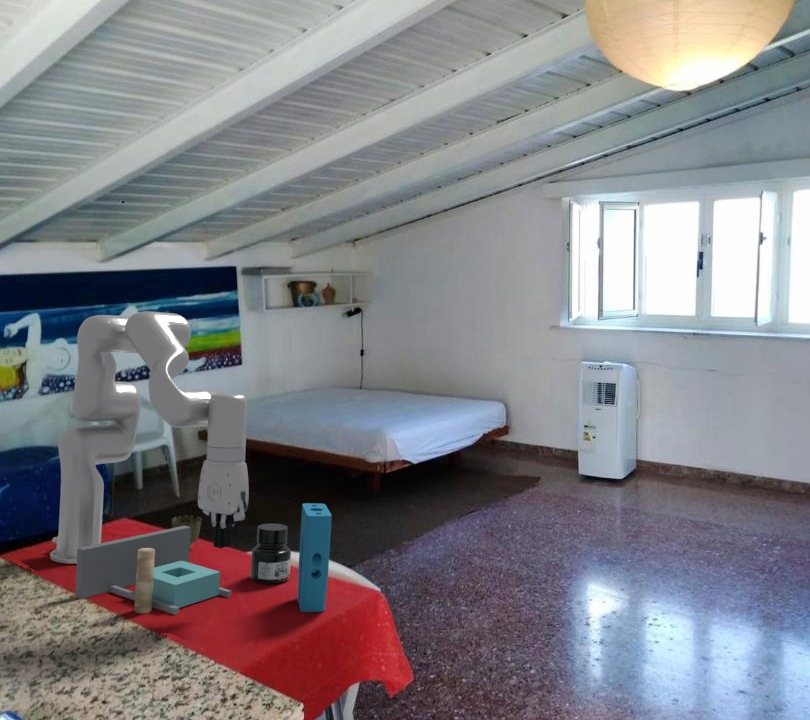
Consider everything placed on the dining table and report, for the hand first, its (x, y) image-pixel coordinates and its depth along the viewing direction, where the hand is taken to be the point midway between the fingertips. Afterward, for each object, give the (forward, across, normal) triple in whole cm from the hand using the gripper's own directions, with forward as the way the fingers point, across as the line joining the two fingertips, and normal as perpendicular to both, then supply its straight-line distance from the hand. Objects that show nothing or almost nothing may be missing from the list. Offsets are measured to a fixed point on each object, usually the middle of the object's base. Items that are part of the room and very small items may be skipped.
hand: (222, 546), depth 152 cm
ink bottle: (+13, -7, +22) cm, 26 cm away
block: (+13, +11, +15) cm, 23 cm away
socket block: (+13, -12, 0) cm, 18 cm away
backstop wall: (+13, -16, 0) cm, 20 cm away
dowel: (+13, -11, -10) cm, 19 cm away
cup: (+12, -39, +25) cm, 48 cm away
